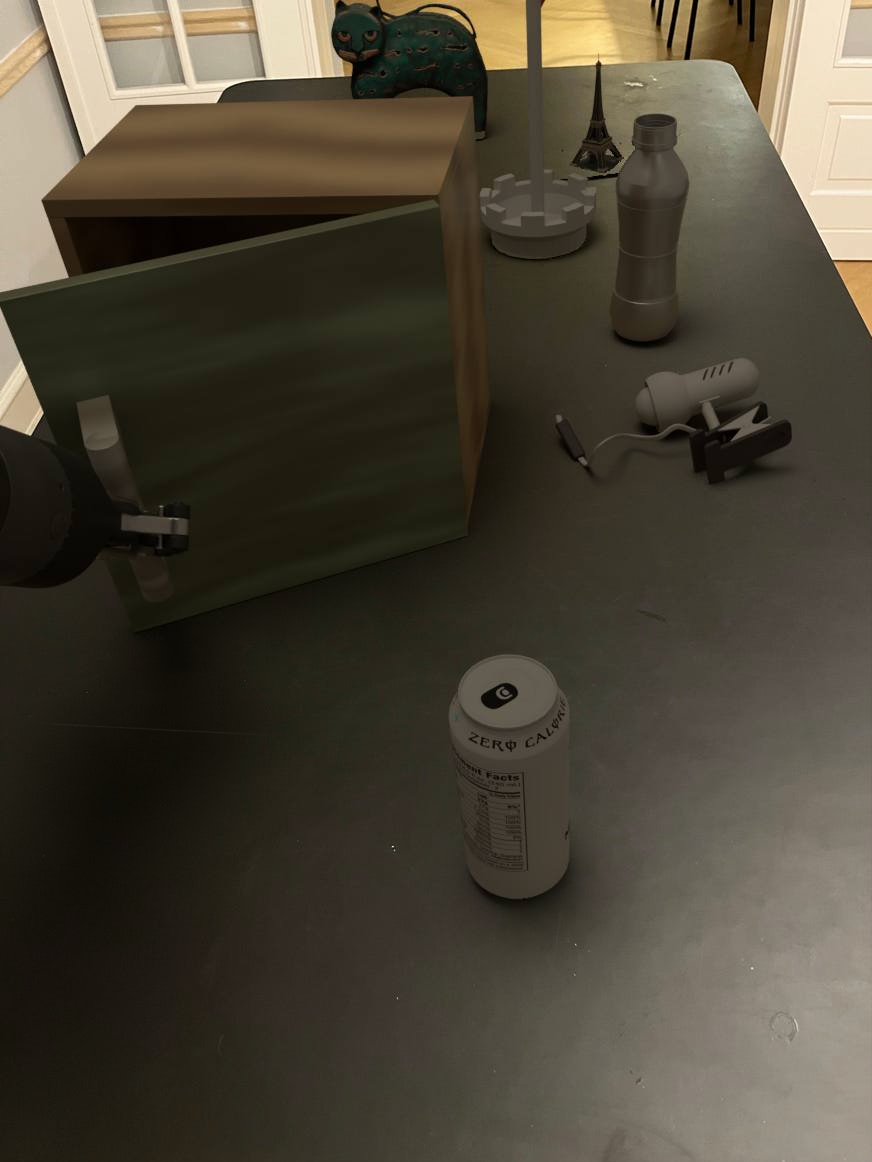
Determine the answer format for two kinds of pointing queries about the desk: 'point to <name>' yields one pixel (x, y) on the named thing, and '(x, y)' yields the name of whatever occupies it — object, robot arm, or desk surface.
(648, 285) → the plastic bottle
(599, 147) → the eiffel tower figurine
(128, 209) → the cupboard
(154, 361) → the cupboard door
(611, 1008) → the desk surface
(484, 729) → the energy drink can
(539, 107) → the flag stand
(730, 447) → the clip-on lamp
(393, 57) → the ceramic cat
